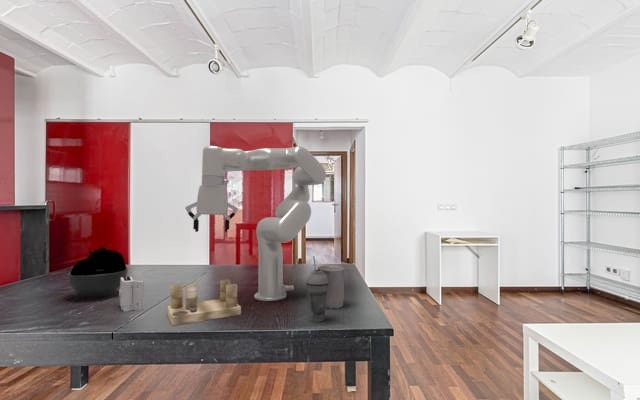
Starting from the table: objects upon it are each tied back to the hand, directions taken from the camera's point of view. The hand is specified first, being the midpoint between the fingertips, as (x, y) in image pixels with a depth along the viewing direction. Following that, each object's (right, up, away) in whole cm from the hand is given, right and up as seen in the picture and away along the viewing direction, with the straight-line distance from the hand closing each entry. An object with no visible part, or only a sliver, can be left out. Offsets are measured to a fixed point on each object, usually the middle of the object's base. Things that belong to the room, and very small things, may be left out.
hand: (211, 231), depth 114 cm
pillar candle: (+41, -28, +6) cm, 50 cm away
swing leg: (-4, -24, -7) cm, 26 cm away
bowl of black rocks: (-51, -28, +18) cm, 61 cm away
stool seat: (-1, -27, -4) cm, 27 cm away
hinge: (-30, -28, +3) cm, 41 cm away
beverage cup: (+37, -27, -9) cm, 47 cm away
